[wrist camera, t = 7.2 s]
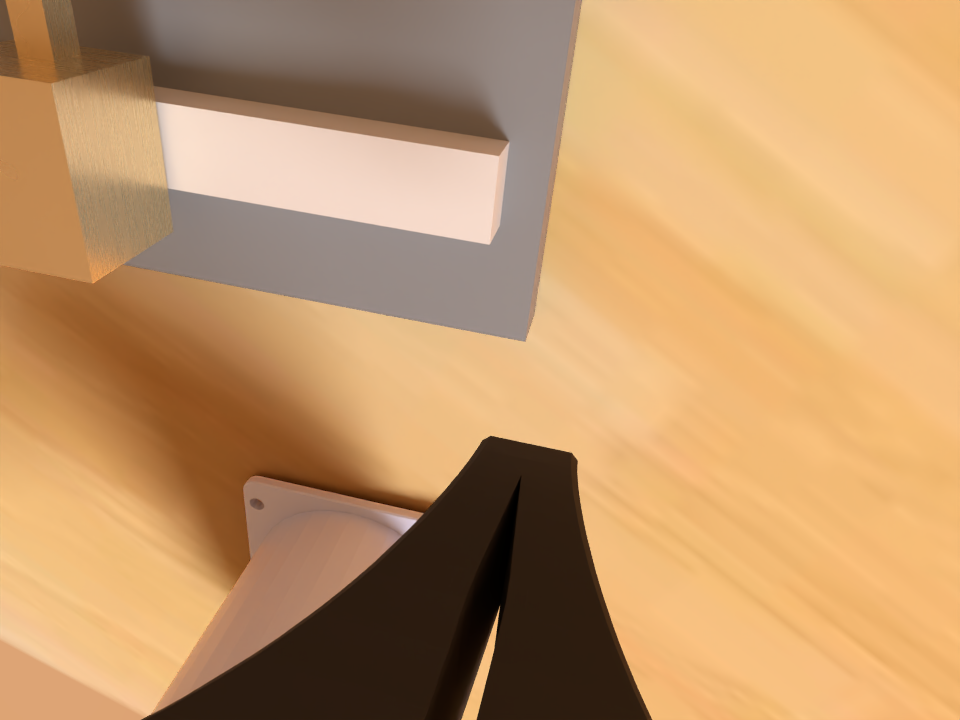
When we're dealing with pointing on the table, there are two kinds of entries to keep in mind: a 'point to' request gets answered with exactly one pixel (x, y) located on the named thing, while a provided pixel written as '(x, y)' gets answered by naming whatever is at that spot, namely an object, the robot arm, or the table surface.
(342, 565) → the robot arm
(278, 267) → the plate
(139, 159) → the sliding trammel head
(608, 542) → the table surface
